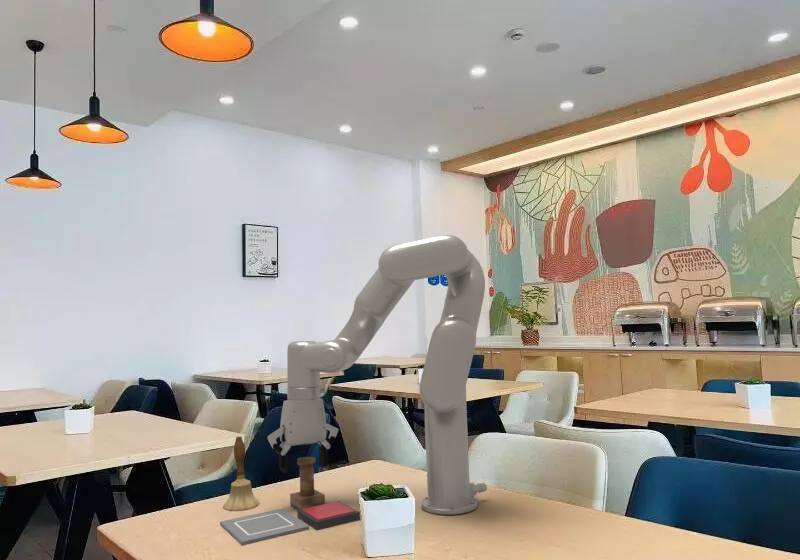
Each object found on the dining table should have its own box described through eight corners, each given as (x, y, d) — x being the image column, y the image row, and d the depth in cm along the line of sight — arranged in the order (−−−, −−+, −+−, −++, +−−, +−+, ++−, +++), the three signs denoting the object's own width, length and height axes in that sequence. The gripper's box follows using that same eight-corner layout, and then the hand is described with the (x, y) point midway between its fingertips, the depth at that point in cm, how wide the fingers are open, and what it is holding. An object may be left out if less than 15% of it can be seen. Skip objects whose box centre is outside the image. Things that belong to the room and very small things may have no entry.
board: (282, 511, 136) (282, 508, 136) (309, 529, 123) (309, 525, 123) (220, 524, 128) (219, 521, 128) (242, 545, 116) (241, 541, 116)
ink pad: (338, 508, 136) (338, 500, 136) (359, 519, 128) (359, 511, 128) (297, 517, 131) (297, 509, 131) (316, 530, 122) (316, 521, 123)
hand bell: (238, 513, 136) (236, 441, 137) (215, 507, 141) (214, 438, 142) (267, 503, 142) (265, 435, 143) (244, 498, 147) (243, 432, 148)
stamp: (314, 501, 143) (312, 454, 143) (325, 507, 138) (323, 459, 138) (290, 506, 139) (289, 458, 140) (300, 512, 134) (299, 463, 135)
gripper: (330, 389, 148) (330, 460, 147) (262, 395, 139) (262, 470, 138) (344, 392, 142) (344, 466, 141) (274, 399, 132) (274, 478, 131)
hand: (304, 468), depth 139 cm, fingers open, 9 cm apart
